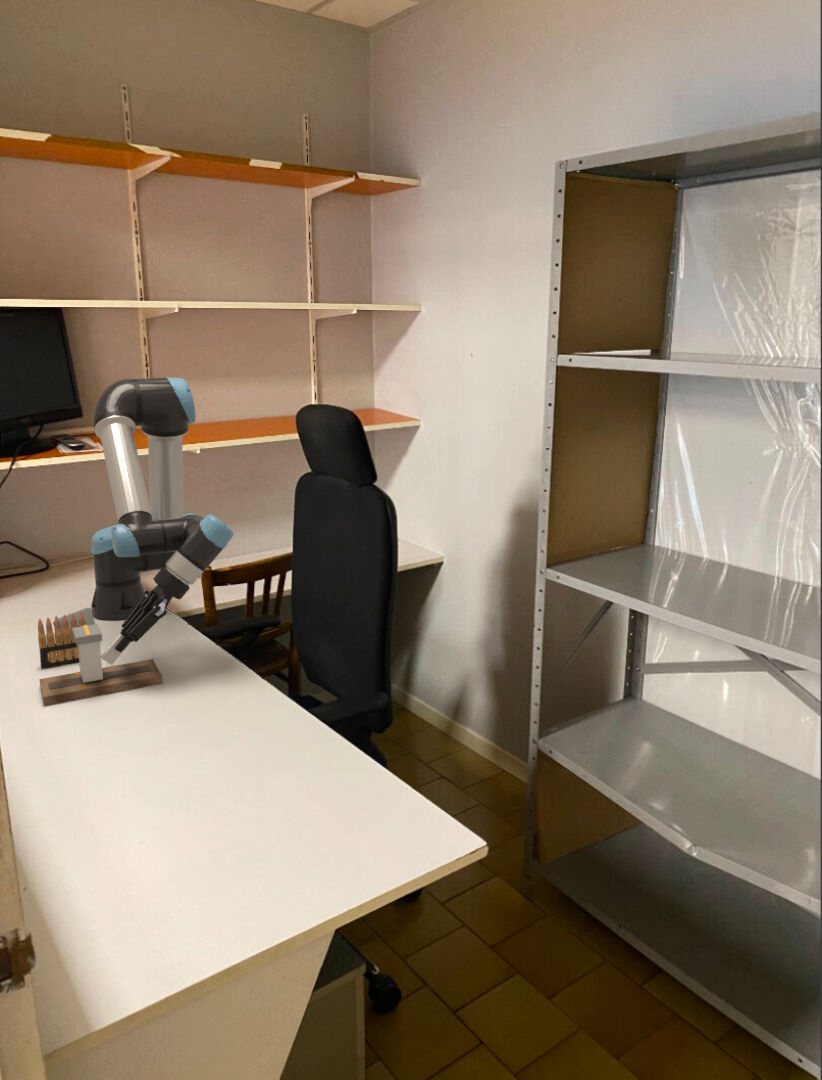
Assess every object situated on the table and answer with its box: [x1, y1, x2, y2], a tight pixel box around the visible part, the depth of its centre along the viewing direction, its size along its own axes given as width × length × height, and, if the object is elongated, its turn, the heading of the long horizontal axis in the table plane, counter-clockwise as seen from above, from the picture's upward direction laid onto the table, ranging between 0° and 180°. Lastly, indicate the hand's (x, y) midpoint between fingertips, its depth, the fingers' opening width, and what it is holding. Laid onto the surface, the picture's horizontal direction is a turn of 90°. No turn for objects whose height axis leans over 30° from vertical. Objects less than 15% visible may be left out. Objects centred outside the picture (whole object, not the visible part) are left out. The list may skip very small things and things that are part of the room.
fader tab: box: [72, 623, 103, 683], centre depth 178 cm, size 5×6×11 cm
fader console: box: [39, 658, 163, 707], centre depth 180 cm, size 24×10×2 cm, turn 117°
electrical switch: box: [52, 607, 101, 653], centre depth 201 cm, size 9×5×9 cm, turn 152°
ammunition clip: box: [37, 612, 85, 670], centre depth 191 cm, size 11×2×12 cm, turn 119°
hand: (106, 660), depth 179 cm, fingers closed
